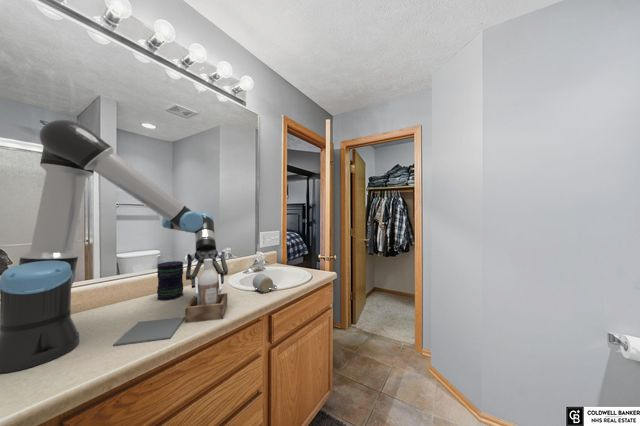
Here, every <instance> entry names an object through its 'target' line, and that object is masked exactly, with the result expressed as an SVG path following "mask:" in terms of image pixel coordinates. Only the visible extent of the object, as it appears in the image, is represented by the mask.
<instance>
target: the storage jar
mask: <svg viewBox="0 0 640 426" xmlns="http://www.w3.org/2000/svg"><path fill="white" fill-rule="evenodd" d="M156 273H157V276H156V277H157V290H156V291H157V292H156V294H157V298H156V299H157V301H162V302H163V301H164V302H167V301H172V300H177V299H180V298H182V297H183V296H184V282H183V279H184V278H183V275H184V261H181V260H177V261H176V260H175V261H174V260H173V261H165V262H160V263H158V264H157V272H156Z"/></svg>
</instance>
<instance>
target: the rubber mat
mask: <svg viewBox="0 0 640 426" xmlns="http://www.w3.org/2000/svg"><path fill="white" fill-rule="evenodd" d="M184 321H185V316H181V317H180V316H178V317H170V318H169V317H168V318H161V319H151V320H142V321H138V322H136V324H134V325H133V326H132V327H131V328H130V329H129V330H128V331H127V332H125V333H124V334H123V335H122V336H121V337H120V338H118V339H117V340H116V341H115V342H114V343H113V344H112V346H113V347H116V346H117V347H118V346H124V345H133V344H139V343H147V342H149V343H150V342H155V341H163V340H170V339H172V338H173V336H174V335H175V333H176V332H177V331H178V329H179V328H180V326H181V325H182V323H183V322H184Z"/></svg>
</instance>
